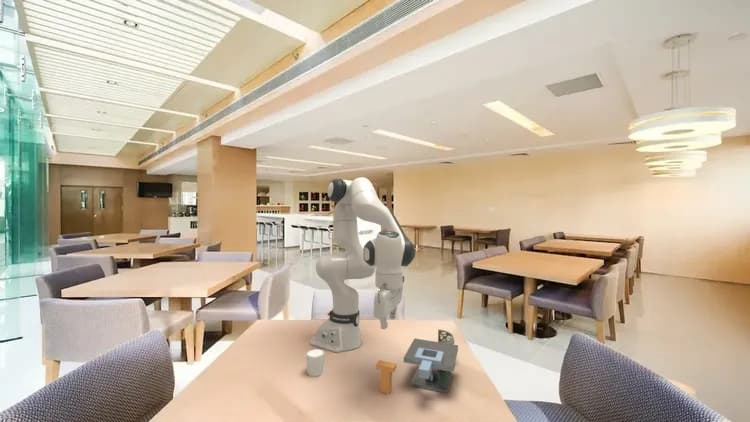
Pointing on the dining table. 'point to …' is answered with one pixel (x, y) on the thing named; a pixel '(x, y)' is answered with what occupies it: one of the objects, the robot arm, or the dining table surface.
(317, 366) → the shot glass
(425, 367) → the bracket
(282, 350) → the dining table surface
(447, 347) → the metal plate
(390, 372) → the orange t-shaped block
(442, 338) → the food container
